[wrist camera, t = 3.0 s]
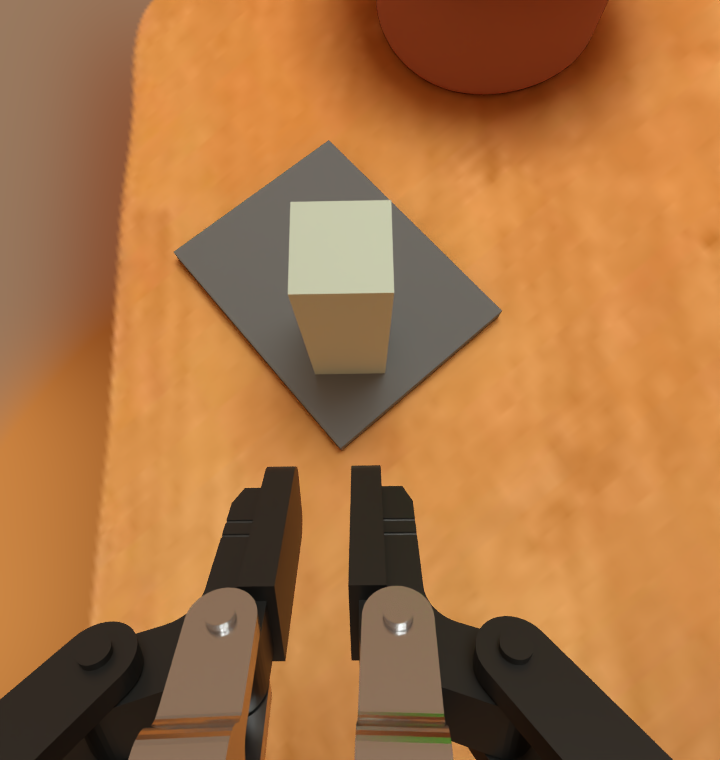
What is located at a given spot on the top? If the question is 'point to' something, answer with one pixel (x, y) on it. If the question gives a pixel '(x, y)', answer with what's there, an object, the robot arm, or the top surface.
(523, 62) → the potted cactus
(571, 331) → the top surface
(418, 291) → the rubber mat
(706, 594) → the top surface
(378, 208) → the sage block
